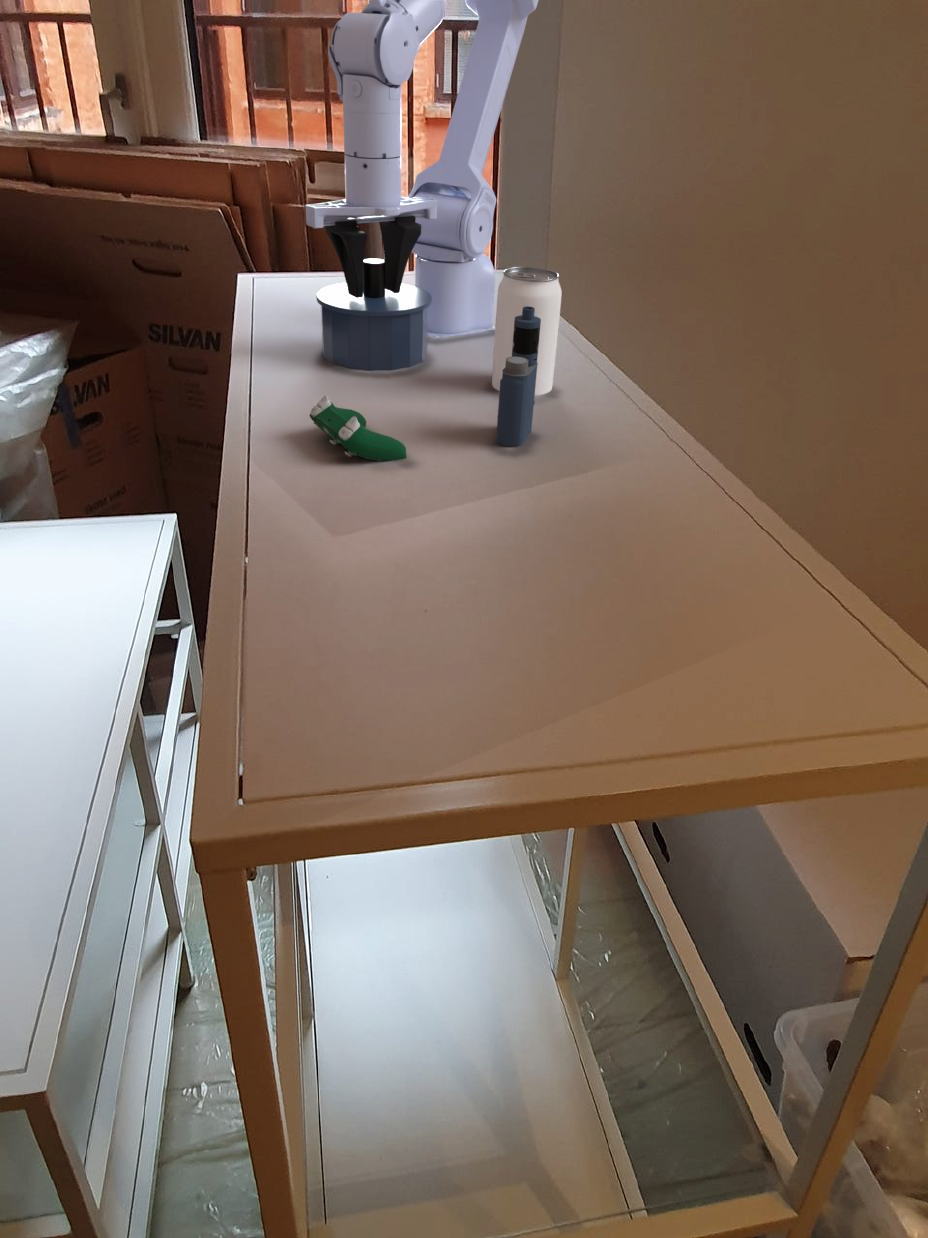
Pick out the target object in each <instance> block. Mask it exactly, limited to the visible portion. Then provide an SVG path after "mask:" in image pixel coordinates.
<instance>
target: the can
mask: <svg viewBox="0 0 928 1238" xmlns="http://www.w3.org/2000/svg"><path fill="white" fill-rule="evenodd" d="M502 274H503V276H502V279H501V281H500V282H499V284H498V288H497V294H496V295H497V297H496V309H495V310H496V312H495V322H494V323H495V324H494V327H495V329H494V341H493V355H492V356H493V357H492V372H491V373H492V374H491V385H492V388H494V389H495V390H496V391H500V380H501V379H502V373H503V372H502V370H503V369H504V368H505V365H506V358H508V357H512V346H513V347H514V345H513V333H514V320H515V317H516V316H520V315H522V310H523V307H527V306H528V307H533V308H535V310H534V316H536V317H539V318H540V319H541V325H540V336H539V347H537V349H538V357H537V362H538V364H537V374H536V385H535V396H534V397H537V396H542V395H546V394H549V393H550V392H551V391H552V390H553V384H554V377H555V376H554V374H555V364H556V355H557V347H558V337H559V325H560V318H561V317H560V316H561V305H562V293H563V292H562V288H561V287H562V286H561V284H560V282H559V278H560V273H559V272H557V271H555V270H552V269H549V268H545V267H544V268H543V267H538V266H513V267H508V268H506V269H504V270H503V271H502Z"/></svg>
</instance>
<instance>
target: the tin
mask: <svg viewBox="0 0 928 1238" xmlns="http://www.w3.org/2000/svg"><path fill="white" fill-rule="evenodd" d="M320 318H321V319H320V321H321V341H322V344H321V345H322V346H321V347H322V354H323V355H322V356H323V359H326V360H327V361H328V362H329V363H331V364H333V365H336V366H339V367H342V368H346V369H351V370H359V371H366V372H367V371H368V372H380V371H381V372H383V371H386V372H387V371H389V372H391V371H395V370H402V369H403V370H404V369H409V368H411V367H414V366H416V365H419V364H422V363H423V362H424V361H425V359H426V358H427V356H428V336H427V323H428V308H426V309H424V310H421V311H418V312H415V313H410V314H404V315H395V316H363V315H353V314H347V313H341V312H337V311H333V310H330V309H327V308H325V307H323V306H321V305H320Z"/></svg>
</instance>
